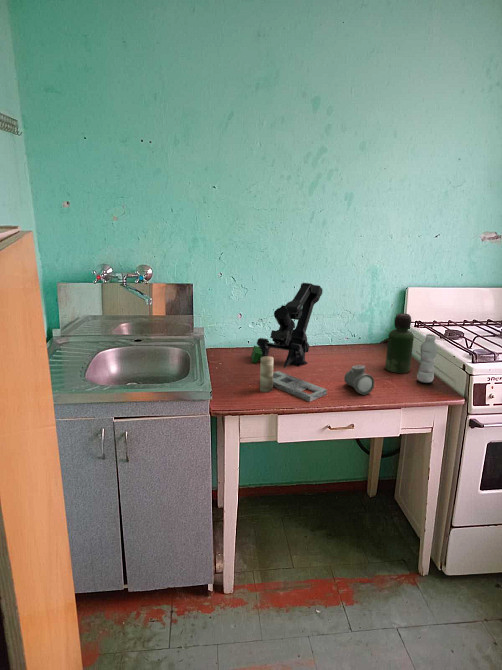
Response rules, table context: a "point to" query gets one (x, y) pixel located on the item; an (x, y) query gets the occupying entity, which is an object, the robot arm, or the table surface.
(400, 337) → the green bottle
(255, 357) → the clamp
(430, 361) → the plastic bottle
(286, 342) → the robot arm
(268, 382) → the pin
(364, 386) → the pipe fitting
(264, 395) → the table surface
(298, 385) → the grey slotted plate
